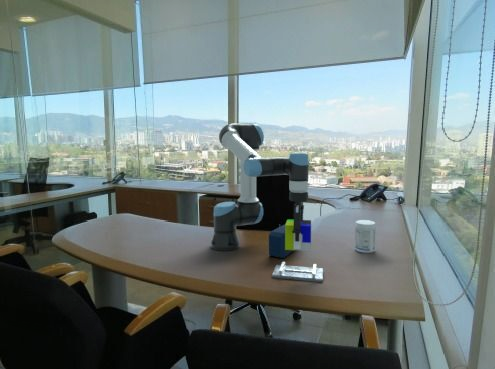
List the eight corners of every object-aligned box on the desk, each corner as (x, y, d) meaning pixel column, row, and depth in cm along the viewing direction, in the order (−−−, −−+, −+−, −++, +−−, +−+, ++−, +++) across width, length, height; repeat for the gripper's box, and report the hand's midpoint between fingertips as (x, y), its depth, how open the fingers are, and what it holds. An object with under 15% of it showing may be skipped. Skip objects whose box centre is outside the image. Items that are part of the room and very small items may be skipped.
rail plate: (272, 277, 129) (272, 270, 129) (276, 267, 140) (276, 260, 139) (322, 282, 124) (322, 274, 124) (322, 271, 135) (323, 264, 134)
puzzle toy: (310, 251, 125) (311, 226, 123) (285, 249, 127) (285, 225, 125) (310, 243, 134) (311, 220, 133) (287, 242, 136) (287, 219, 135)
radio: (283, 260, 148) (283, 218, 146) (267, 257, 153) (267, 216, 150) (301, 247, 166) (301, 210, 163) (285, 245, 170) (285, 208, 168)
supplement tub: (364, 246, 167) (365, 218, 165) (379, 251, 158) (380, 222, 156) (350, 249, 162) (351, 221, 160) (364, 254, 154) (365, 225, 152)
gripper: (306, 195, 116) (305, 254, 118) (309, 187, 138) (309, 237, 140) (285, 195, 118) (285, 253, 120) (292, 187, 139) (292, 236, 142)
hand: (298, 244), depth 130 cm, fingers closed on puzzle toy, 10 cm apart
